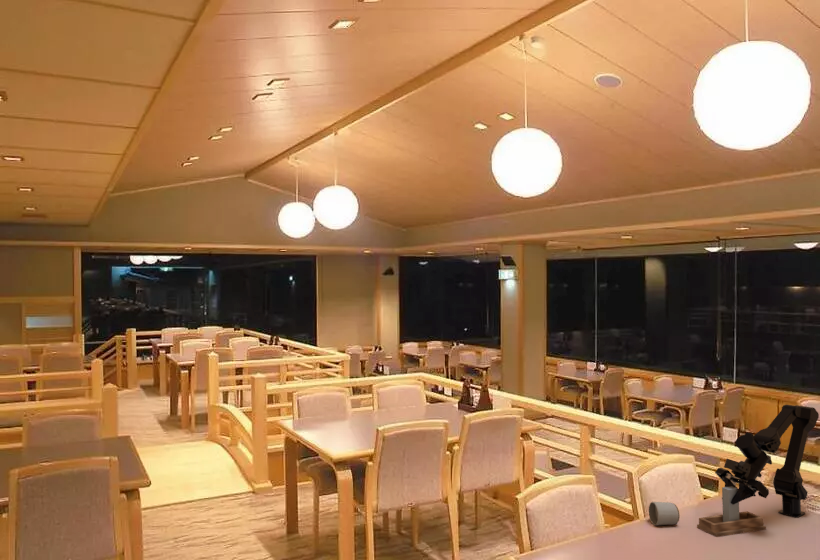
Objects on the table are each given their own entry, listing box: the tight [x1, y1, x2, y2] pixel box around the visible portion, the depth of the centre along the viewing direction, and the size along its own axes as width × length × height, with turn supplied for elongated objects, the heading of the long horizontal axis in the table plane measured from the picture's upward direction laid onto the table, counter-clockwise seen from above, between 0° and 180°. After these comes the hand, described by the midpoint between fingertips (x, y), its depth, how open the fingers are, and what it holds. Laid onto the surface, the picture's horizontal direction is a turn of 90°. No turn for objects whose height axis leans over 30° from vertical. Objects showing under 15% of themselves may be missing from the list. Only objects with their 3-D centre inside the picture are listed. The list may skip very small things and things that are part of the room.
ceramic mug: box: [648, 501, 681, 526], centre depth 226 cm, size 11×8×8 cm
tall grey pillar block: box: [721, 486, 740, 522], centre depth 219 cm, size 4×3×12 cm
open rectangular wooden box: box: [696, 510, 767, 538], centre depth 219 cm, size 20×9×4 cm, turn 106°
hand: (727, 501), depth 219 cm, fingers open, 4 cm apart
